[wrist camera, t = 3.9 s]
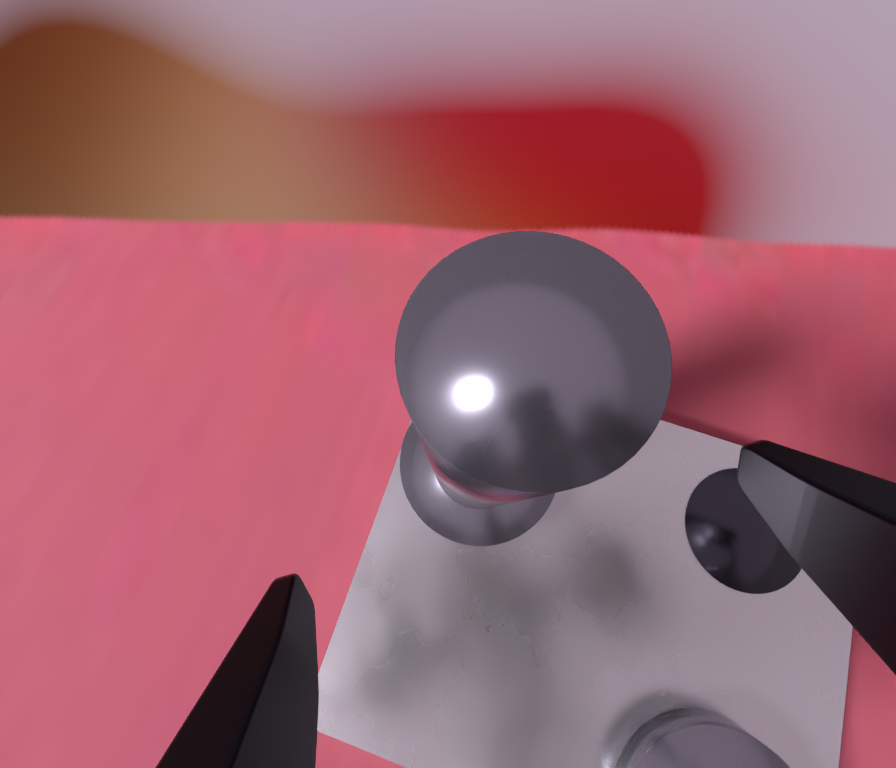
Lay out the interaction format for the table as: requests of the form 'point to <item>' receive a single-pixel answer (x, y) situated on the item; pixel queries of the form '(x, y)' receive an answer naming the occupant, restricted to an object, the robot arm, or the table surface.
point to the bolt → (523, 381)
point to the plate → (587, 626)
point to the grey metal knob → (695, 743)
